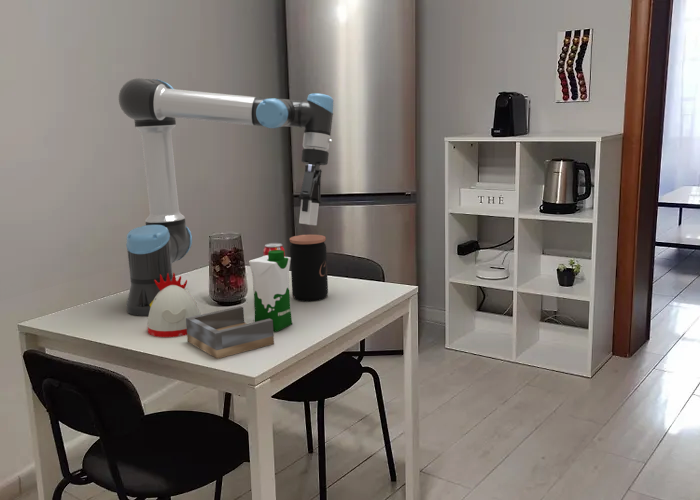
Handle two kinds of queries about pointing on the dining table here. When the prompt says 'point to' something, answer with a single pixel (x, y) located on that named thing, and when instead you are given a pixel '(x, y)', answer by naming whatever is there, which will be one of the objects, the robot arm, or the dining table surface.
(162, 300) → the kitchen timer
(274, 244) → the soda can
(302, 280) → the coffee jar
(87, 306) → the dining table surface
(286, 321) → the soya milk
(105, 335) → the dining table surface
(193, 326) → the dock
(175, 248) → the robot arm
